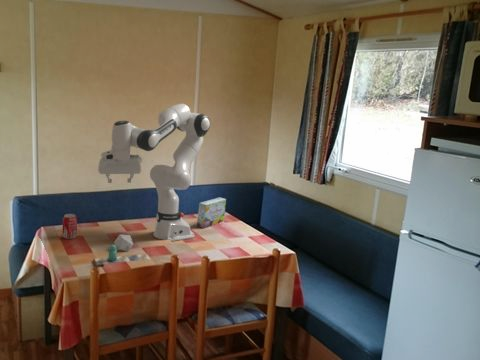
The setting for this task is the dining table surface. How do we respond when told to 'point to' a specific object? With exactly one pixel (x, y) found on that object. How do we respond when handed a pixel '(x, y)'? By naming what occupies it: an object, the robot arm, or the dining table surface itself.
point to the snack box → (211, 212)
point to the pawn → (112, 253)
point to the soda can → (69, 226)
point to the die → (123, 242)
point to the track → (120, 259)
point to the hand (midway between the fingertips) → (119, 182)
